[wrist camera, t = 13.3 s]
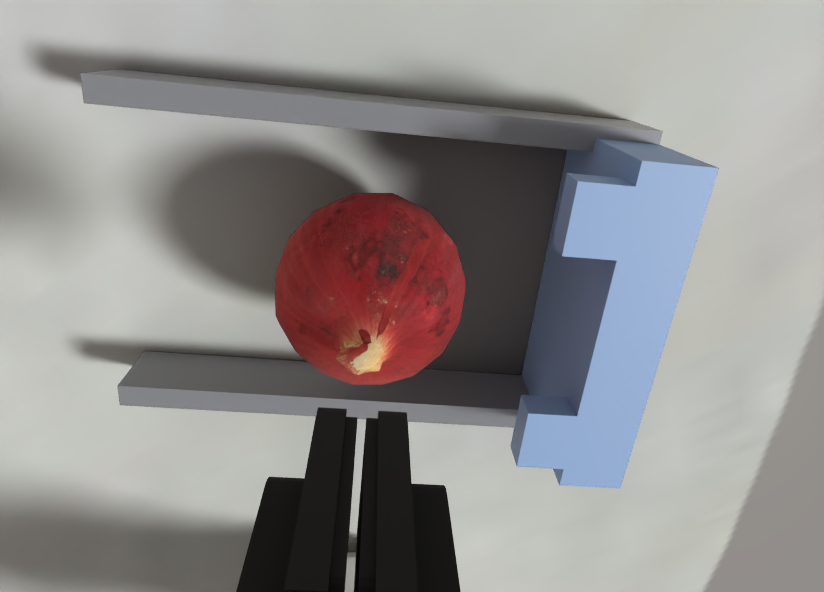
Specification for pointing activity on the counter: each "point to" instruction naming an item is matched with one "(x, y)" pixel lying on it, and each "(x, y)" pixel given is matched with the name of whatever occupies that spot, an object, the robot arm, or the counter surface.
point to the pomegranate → (370, 289)
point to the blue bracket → (606, 305)
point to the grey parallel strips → (299, 380)
